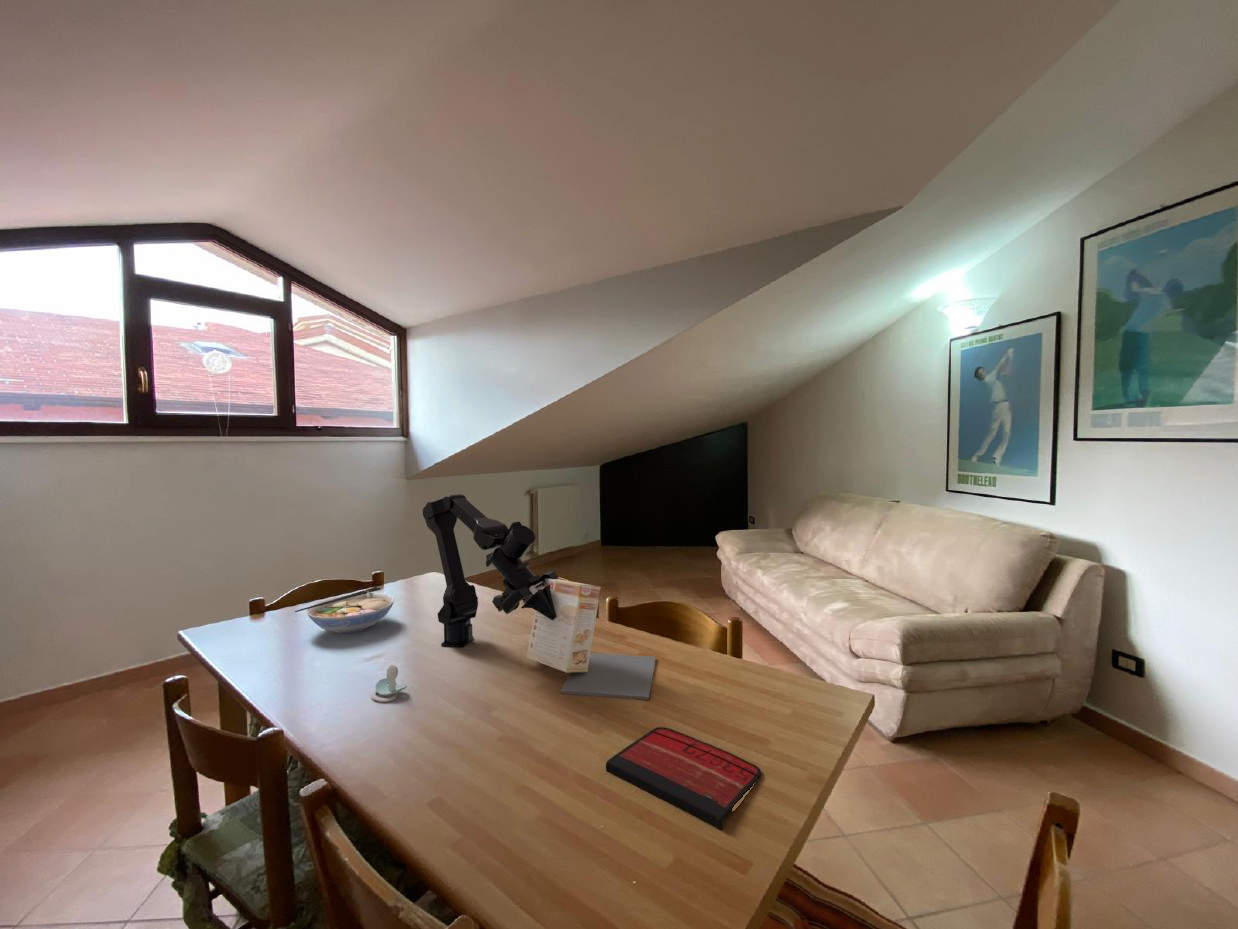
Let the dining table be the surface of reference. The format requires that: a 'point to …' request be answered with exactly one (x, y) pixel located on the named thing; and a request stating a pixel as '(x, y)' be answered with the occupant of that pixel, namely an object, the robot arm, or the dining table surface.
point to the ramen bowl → (350, 611)
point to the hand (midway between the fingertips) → (554, 618)
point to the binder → (685, 773)
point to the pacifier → (388, 686)
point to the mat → (613, 677)
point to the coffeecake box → (565, 627)
